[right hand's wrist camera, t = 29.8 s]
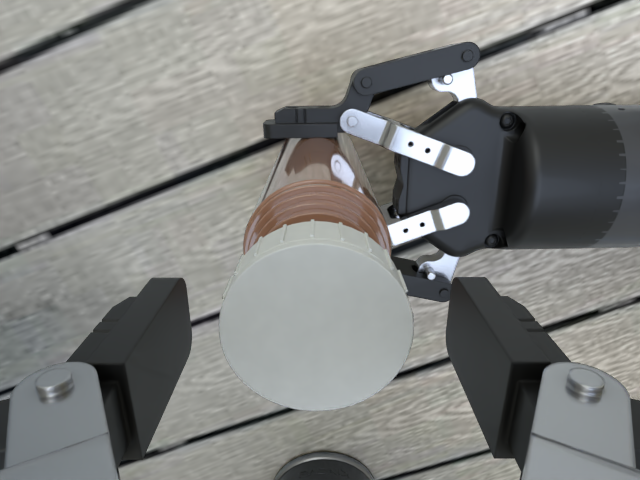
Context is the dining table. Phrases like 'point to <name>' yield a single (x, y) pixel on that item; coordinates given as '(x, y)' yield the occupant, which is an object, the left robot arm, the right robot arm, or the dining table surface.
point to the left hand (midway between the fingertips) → (269, 182)
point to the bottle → (317, 191)
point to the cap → (316, 317)
